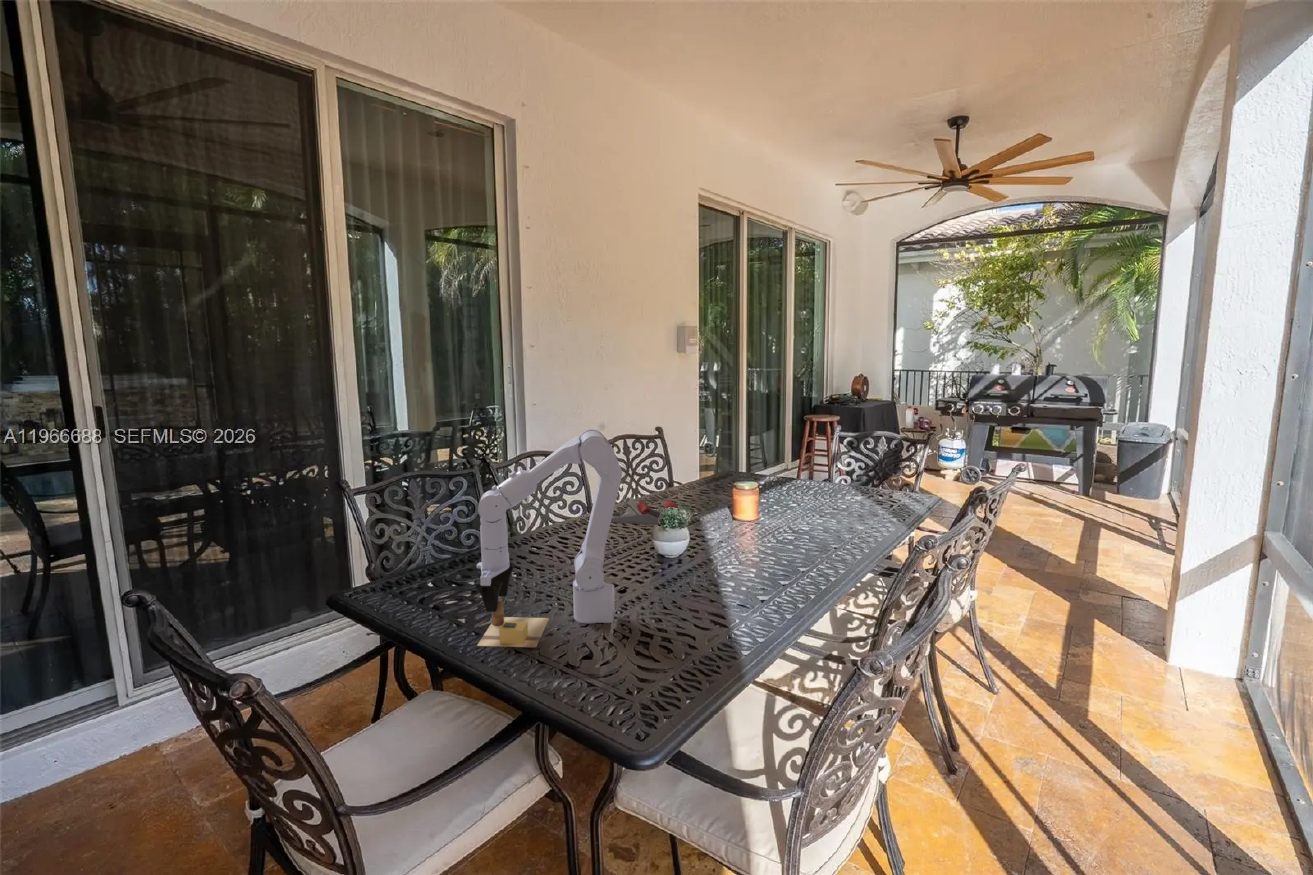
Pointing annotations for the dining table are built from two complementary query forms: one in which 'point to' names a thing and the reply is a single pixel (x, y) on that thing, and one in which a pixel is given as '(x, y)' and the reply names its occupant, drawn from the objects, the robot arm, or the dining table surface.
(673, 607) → the dining table surface
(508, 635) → the stud finder
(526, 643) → the plywood panel
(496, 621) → the brown gray-topped cylinder
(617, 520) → the hand plane
